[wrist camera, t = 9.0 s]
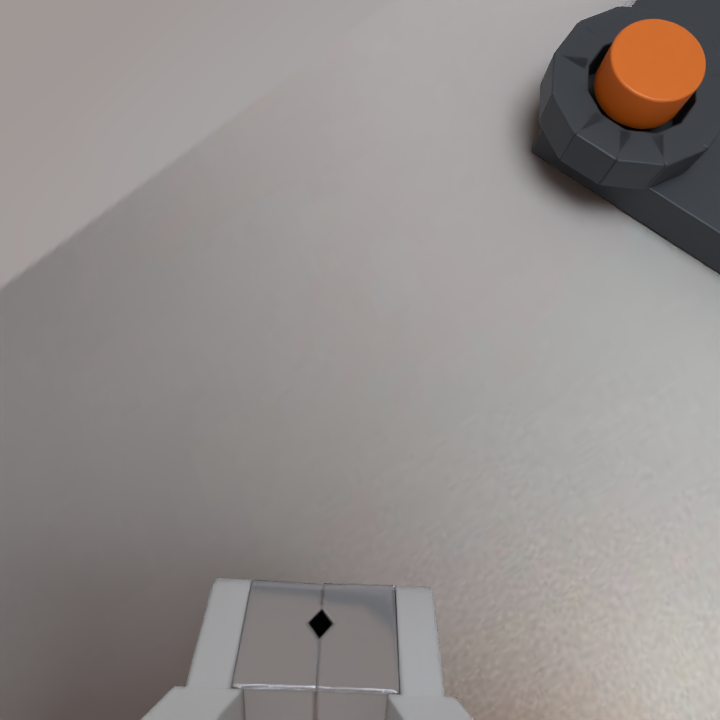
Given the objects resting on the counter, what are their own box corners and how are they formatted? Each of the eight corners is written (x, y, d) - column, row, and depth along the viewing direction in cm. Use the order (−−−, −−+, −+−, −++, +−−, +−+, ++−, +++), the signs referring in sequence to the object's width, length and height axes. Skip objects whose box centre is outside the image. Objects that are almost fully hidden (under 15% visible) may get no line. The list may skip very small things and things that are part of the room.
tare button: (575, 97, 22) (592, 67, 20) (622, 35, 22) (642, 1, 21) (653, 146, 21) (676, 118, 20) (698, 82, 22) (724, 50, 20)
